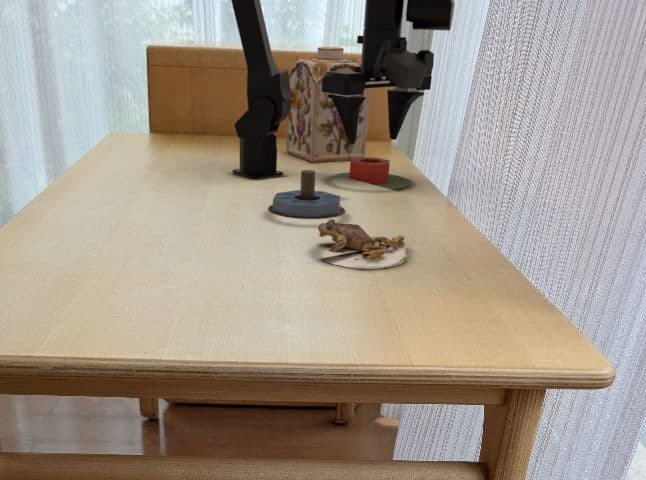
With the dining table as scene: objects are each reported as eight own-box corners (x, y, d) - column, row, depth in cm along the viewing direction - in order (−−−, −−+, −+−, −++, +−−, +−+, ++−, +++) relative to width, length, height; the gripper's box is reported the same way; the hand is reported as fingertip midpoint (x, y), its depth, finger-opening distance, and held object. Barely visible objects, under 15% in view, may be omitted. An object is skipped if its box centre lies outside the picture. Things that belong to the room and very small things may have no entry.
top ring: (341, 179, 137) (342, 159, 135) (369, 175, 140) (371, 156, 138) (367, 185, 132) (369, 165, 131) (395, 181, 136) (397, 162, 134)
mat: (309, 179, 138) (309, 177, 137) (370, 171, 145) (370, 169, 144) (365, 195, 128) (366, 192, 128) (428, 185, 135) (428, 183, 135)
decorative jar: (311, 163, 150) (316, 49, 140) (283, 152, 159) (287, 44, 149) (367, 159, 154) (376, 48, 144) (337, 149, 163) (344, 44, 153)
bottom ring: (261, 206, 116) (261, 195, 115) (311, 199, 121) (311, 187, 120) (301, 220, 110) (302, 207, 109) (352, 211, 115) (353, 199, 114)
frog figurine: (307, 266, 96) (309, 232, 94) (319, 240, 106) (320, 208, 103) (405, 272, 94) (409, 238, 92) (408, 245, 104) (411, 214, 102)
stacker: (252, 213, 117) (252, 168, 113) (311, 204, 122) (313, 161, 119) (300, 230, 110) (302, 182, 106) (361, 219, 115) (364, 174, 112)
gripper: (373, 32, 114) (364, 154, 123) (464, 30, 123) (449, 144, 132) (322, 28, 121) (316, 143, 130) (411, 27, 131) (400, 134, 140)
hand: (372, 141), depth 133 cm, fingers open, 9 cm apart
